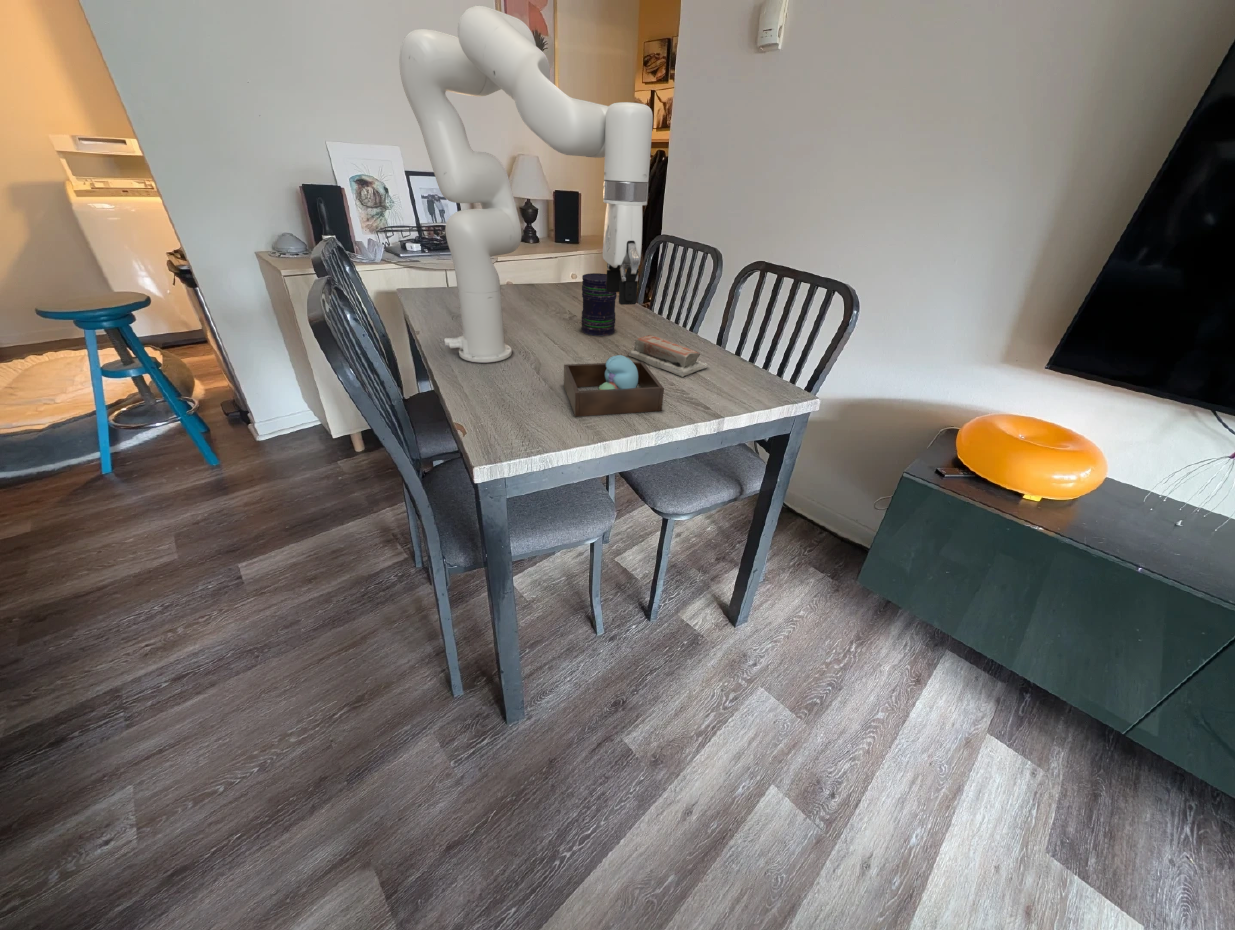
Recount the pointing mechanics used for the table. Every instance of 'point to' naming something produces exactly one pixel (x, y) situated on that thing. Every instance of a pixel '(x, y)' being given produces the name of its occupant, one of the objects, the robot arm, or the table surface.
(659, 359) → the packaged product
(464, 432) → the table surface
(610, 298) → the storage jar
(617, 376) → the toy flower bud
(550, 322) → the table surface
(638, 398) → the crate
